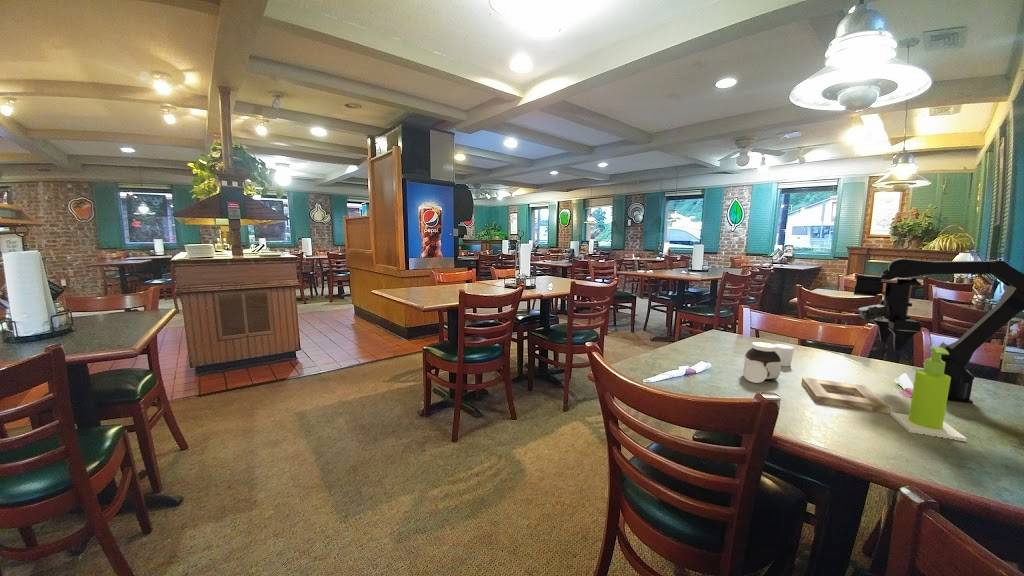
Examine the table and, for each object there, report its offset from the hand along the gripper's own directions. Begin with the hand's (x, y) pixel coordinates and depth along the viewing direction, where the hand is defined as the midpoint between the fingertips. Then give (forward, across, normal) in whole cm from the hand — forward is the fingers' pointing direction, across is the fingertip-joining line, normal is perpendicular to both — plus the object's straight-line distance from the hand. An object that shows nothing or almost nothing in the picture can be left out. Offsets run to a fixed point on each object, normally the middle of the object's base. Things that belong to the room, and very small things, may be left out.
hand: (889, 346), depth 121 cm
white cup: (+13, -10, -26) cm, 31 cm away
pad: (+13, +32, -3) cm, 35 cm away
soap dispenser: (+12, +32, -3) cm, 34 cm away
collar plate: (+13, +18, -16) cm, 27 cm away
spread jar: (+13, +12, -36) cm, 40 cm away
